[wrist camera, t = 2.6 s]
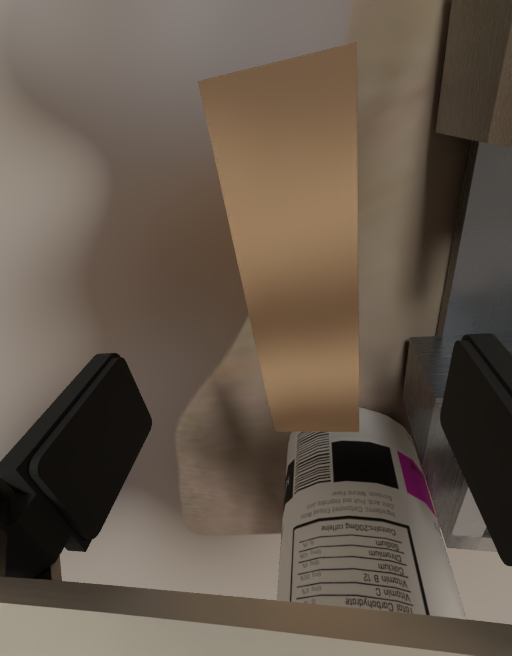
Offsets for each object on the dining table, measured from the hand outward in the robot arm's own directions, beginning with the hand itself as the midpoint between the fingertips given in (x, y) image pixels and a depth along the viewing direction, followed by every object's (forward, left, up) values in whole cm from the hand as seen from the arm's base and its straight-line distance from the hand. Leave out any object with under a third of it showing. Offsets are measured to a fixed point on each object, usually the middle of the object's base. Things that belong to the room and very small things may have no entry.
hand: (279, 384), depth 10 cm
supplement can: (+13, +3, -8) cm, 16 cm away
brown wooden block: (-1, +1, -8) cm, 8 cm away
